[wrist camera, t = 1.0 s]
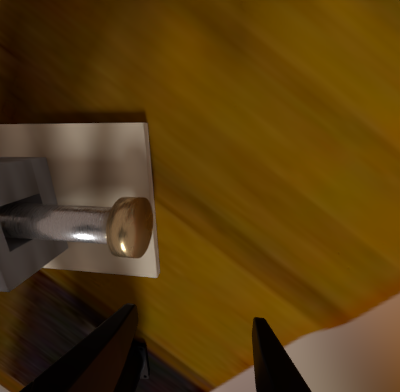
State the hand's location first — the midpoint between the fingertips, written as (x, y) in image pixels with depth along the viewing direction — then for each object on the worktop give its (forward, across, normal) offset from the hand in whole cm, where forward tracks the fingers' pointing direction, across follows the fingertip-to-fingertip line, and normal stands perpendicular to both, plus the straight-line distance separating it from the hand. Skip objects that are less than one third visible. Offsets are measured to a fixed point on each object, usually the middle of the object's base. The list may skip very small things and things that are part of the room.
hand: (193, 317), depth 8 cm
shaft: (+10, +12, 0) cm, 15 cm away
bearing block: (+12, +17, 0) cm, 21 cm away
